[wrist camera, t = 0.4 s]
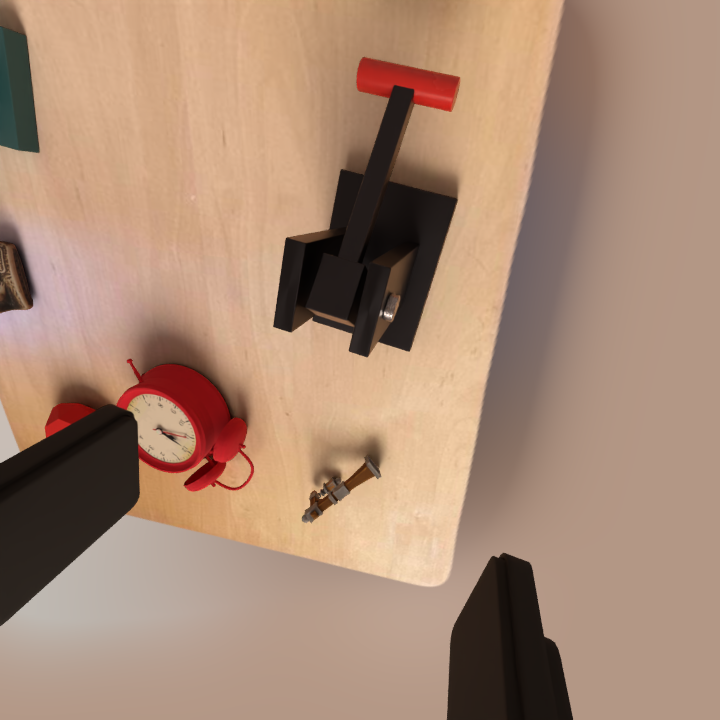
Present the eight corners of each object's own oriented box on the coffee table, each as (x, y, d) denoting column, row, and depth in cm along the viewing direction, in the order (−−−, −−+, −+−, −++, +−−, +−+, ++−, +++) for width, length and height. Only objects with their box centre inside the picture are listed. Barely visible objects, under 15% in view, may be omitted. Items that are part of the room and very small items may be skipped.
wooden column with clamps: (299, 493, 38) (295, 518, 33) (364, 444, 37) (369, 462, 33) (311, 507, 38) (308, 533, 33) (375, 458, 38) (382, 478, 33)
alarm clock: (123, 346, 33) (235, 478, 30) (183, 335, 38) (282, 445, 36) (90, 420, 37) (185, 540, 35) (148, 401, 43) (234, 503, 41)
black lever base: (345, 170, 27) (264, 147, 16) (458, 199, 26) (450, 195, 15) (317, 317, 31) (239, 374, 21) (411, 346, 30) (380, 424, 20)
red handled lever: (368, 79, 21) (362, 40, 19) (457, 98, 20) (463, 61, 18) (293, 307, 21) (277, 299, 19) (379, 335, 20) (375, 329, 18)
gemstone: (81, 464, 46) (57, 480, 44) (51, 397, 43) (23, 410, 41) (140, 468, 44) (118, 485, 41) (112, 397, 41) (87, 411, 38)
